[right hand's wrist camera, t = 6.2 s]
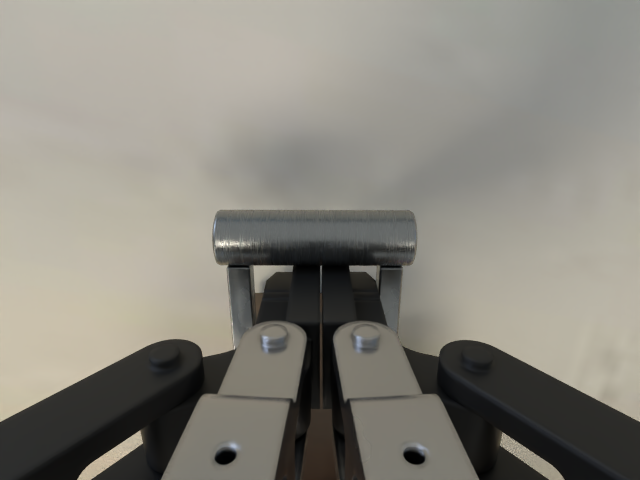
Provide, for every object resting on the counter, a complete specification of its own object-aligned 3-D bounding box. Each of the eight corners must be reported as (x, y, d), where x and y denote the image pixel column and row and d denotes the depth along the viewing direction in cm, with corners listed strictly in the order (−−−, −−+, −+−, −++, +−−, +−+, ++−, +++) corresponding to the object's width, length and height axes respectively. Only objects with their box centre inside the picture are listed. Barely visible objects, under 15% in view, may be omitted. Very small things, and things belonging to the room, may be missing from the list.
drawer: (245, 159, 17) (163, 257, 8) (386, 160, 17) (464, 258, 8) (268, 548, 25) (241, 809, 16) (362, 548, 25) (387, 808, 16)
